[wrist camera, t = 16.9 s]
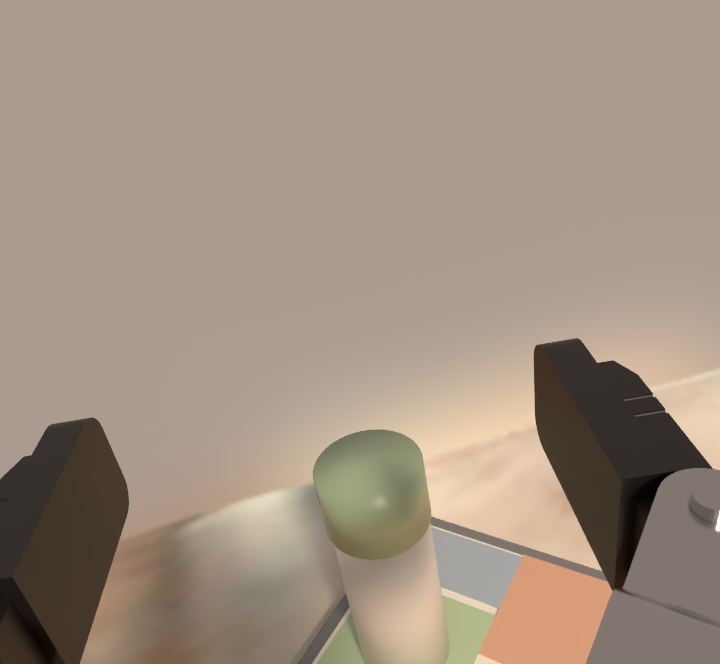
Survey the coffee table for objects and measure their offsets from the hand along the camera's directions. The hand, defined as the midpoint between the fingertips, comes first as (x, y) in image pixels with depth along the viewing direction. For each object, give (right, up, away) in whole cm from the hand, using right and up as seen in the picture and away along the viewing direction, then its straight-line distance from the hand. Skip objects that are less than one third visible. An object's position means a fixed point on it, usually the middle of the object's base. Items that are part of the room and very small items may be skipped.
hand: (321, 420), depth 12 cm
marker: (+3, -14, +21) cm, 26 cm away
